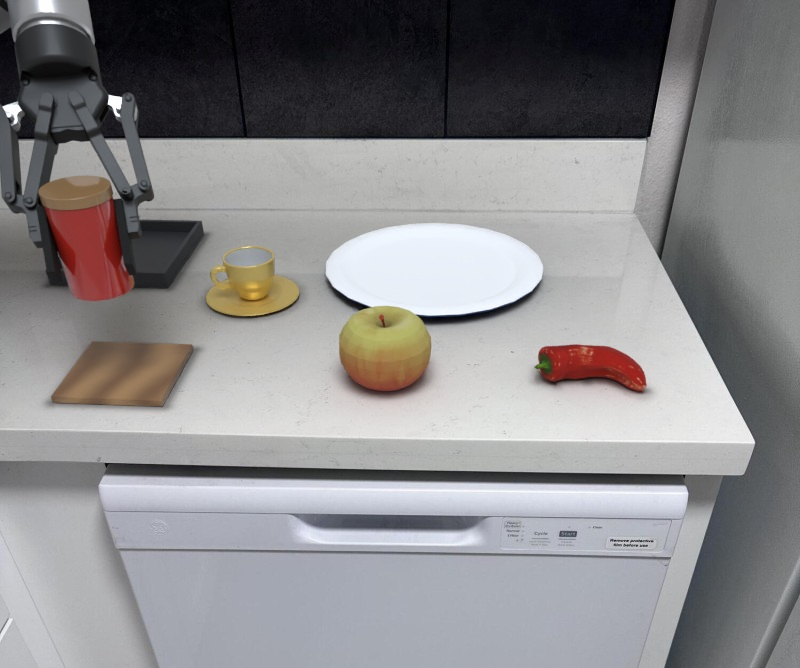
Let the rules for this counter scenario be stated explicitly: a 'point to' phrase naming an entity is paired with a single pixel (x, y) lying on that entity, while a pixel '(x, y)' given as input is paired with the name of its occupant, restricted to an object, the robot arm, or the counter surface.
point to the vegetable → (590, 364)
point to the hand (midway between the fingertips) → (93, 273)
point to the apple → (384, 348)
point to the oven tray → (159, 251)
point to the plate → (434, 269)
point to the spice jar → (87, 236)
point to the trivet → (124, 374)
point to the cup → (250, 284)
